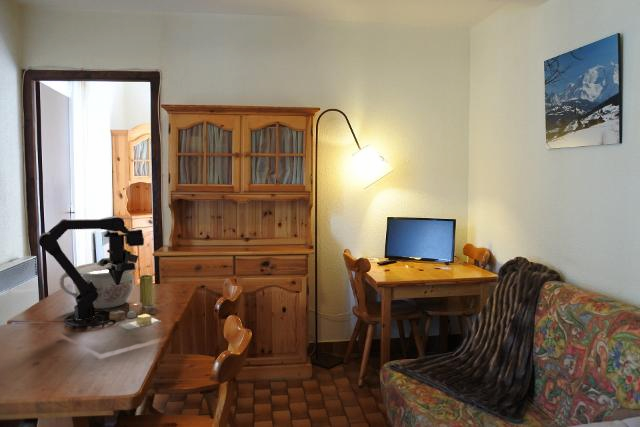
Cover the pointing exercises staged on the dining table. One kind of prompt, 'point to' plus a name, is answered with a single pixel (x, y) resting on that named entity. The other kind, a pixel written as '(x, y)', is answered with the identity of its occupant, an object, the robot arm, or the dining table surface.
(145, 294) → the vase
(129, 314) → the grey ball
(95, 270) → the chamber pot
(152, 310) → the walnut cube
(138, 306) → the peach rounded capsule
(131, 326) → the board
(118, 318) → the walnut cube
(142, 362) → the dining table surface
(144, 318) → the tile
